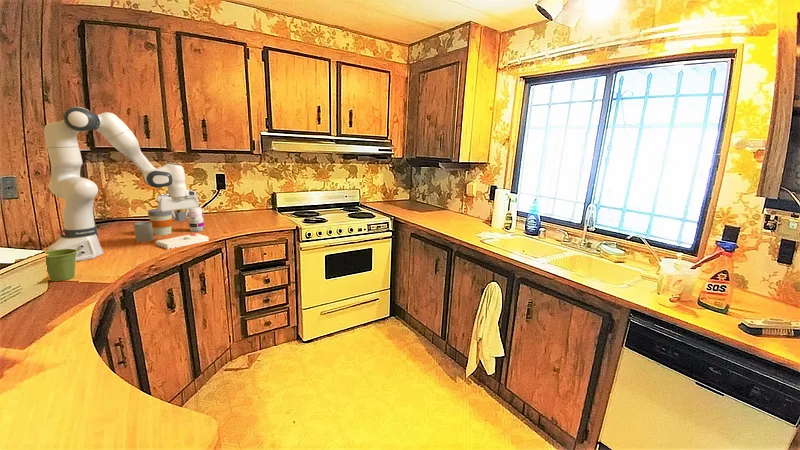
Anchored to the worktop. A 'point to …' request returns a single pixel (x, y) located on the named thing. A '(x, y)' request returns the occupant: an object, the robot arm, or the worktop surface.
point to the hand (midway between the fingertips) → (180, 217)
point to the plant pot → (61, 264)
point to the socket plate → (182, 240)
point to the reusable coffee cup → (160, 221)
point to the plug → (180, 216)
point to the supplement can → (196, 219)
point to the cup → (143, 231)
